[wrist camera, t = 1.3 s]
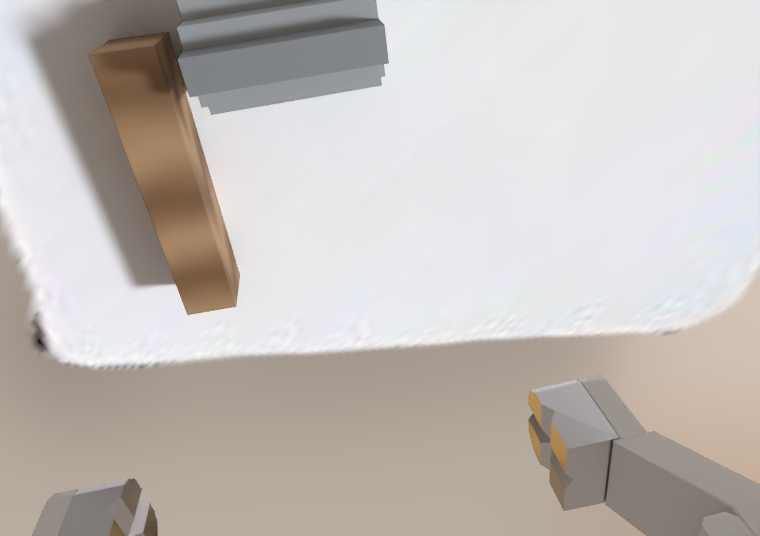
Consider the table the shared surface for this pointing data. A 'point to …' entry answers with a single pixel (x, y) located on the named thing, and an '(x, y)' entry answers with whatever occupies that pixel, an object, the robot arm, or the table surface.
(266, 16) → the ridge block
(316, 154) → the table surface
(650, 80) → the table surface
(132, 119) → the walnut bar
